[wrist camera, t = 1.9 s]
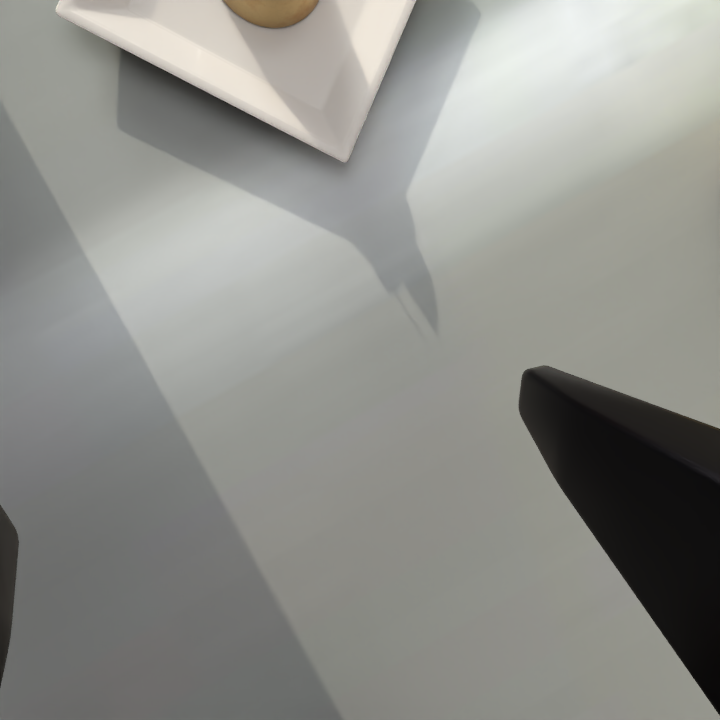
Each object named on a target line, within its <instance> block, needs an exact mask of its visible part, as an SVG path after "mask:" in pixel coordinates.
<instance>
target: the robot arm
mask: <svg viewBox="0 0 720 720" xmlns="http://www.w3.org/2000/svg"><path fill="white" fill-rule="evenodd" d="M519 412H520V415H521V417H522V419H523V421H524V423H525V425H526V427H527V429H528V430H529V432H530V434H531V436H532V438H533V440H534V441H535V443H536V445H537V447H538V449H539V451H540V452H541V454H542V456H543V458H544V460H545V462H546V463H547V465H548V467H549V469H550V471H551V473H552V474H553V476H554V478H555V479H556V481H557V483H558V484H559V486H560V487H561V489H562V490H563V492H564V493H565V495H566V496H567V498H568V499H569V500H570V502H571V503H572V505H573V506H574V508H575V509H576V510H577V512H578V513H579V515H580V516H581V518H582V519H583V521H584V522H585V523H586V525H587V526H588V528H589V529H590V531H591V532H592V533H593V535H594V536H595V538H596V539H597V541H598V542H599V543H600V545H601V546H602V548H603V549H604V551H605V552H606V553H607V555H608V556H609V558H610V559H611V561H612V562H613V563H614V565H615V566H616V568H617V569H618V571H619V572H620V573H621V575H622V576H623V578H624V579H625V581H626V582H627V583H628V585H629V586H630V588H631V589H632V591H633V592H634V594H635V595H636V596H637V598H638V599H639V601H640V602H641V604H642V605H643V606H644V608H645V609H646V611H647V612H648V614H649V615H650V616H651V618H652V619H653V621H654V622H655V624H656V625H657V626H658V628H659V629H660V631H661V632H662V634H663V635H664V636H665V638H666V639H667V641H668V642H669V644H670V645H671V646H672V648H673V649H674V651H675V652H676V654H677V655H678V656H679V658H680V659H681V661H682V662H683V664H684V665H685V667H686V668H687V669H688V671H689V672H690V674H691V675H692V677H693V678H694V679H695V681H696V682H697V684H698V685H699V687H700V688H701V689H702V691H703V692H704V694H705V695H706V697H707V698H708V699H709V701H710V702H711V704H712V705H713V707H714V708H715V709H716V711H717V712H718V714H719V715H720V429H719V428H716V427H713V426H710V425H708V424H705V423H702V422H700V421H697V420H694V419H691V418H689V417H686V416H683V415H680V414H678V413H675V412H672V411H669V410H667V409H664V408H661V407H658V406H656V405H653V404H650V403H648V402H645V401H642V400H639V399H637V398H634V397H631V396H628V395H626V394H623V393H620V392H617V391H615V390H612V389H609V388H607V387H604V386H601V385H598V384H596V383H593V382H590V381H587V380H585V379H582V378H579V377H576V376H574V375H571V374H568V373H565V372H563V371H560V370H557V369H555V368H552V367H549V366H539V367H535V368H530V369H527V370H525V371H524V373H523V375H522V380H521V388H520V397H519ZM18 546H19V541H18V534H17V531H16V529H15V527H14V525H13V524H12V522H11V521H10V519H9V518H8V516H7V514H6V513H5V511H4V510H3V508H2V506H1V505H0V686H1V682H2V677H3V672H4V667H5V662H6V658H7V653H8V647H9V642H10V635H11V627H12V617H13V605H14V593H15V582H16V570H17V558H18Z"/></svg>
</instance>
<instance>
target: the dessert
mask: <svg viewBox="0 0 720 720" xmlns="http://www.w3.org/2000/svg"><path fill="white" fill-rule="evenodd" d="M415 2H416V0H60V1H59V3H58V5H57V7H56V13H57V15H58V16H60V17H62V18H64V19H66V20H68V21H70V22H72V23H74V24H76V25H77V26H79V27H81V28H83V29H85V30H87V31H89V32H91V33H93V34H95V35H97V36H99V37H101V38H103V39H105V40H107V41H109V42H110V43H112V44H114V45H116V46H118V47H120V48H122V49H124V50H126V51H128V52H130V53H132V54H134V55H136V56H138V57H140V58H142V59H143V60H145V61H147V62H149V63H151V64H153V65H155V66H157V67H159V68H161V69H163V70H165V71H167V72H169V73H171V74H173V75H174V76H176V77H178V78H180V79H182V80H184V81H186V82H188V83H190V84H192V85H194V86H196V87H198V88H200V89H202V90H204V91H206V92H207V93H209V94H211V95H213V96H215V97H217V98H219V99H221V100H223V101H225V102H227V103H229V104H231V105H233V106H235V107H237V108H239V109H240V110H242V111H244V112H246V113H248V114H250V115H252V116H254V117H256V118H258V119H260V120H262V121H264V122H266V123H268V124H270V125H272V126H273V127H275V128H277V129H279V130H281V131H283V132H285V133H287V134H289V135H291V136H293V137H295V138H297V139H299V140H301V141H303V142H305V143H306V144H308V145H310V146H312V147H314V148H316V149H318V150H320V151H322V152H324V153H326V154H328V155H330V156H332V157H334V158H336V159H338V160H339V161H341V162H347V161H348V159H349V157H350V155H351V152H352V150H353V148H354V145H355V143H356V141H357V138H358V136H359V134H360V131H361V129H362V127H363V124H364V122H365V120H366V117H367V115H368V112H369V110H370V108H371V105H372V103H373V101H374V98H375V96H376V94H377V91H378V89H379V87H380V84H381V82H382V80H383V77H384V75H385V73H386V70H387V68H388V66H389V63H390V61H391V58H392V56H393V54H394V51H395V49H396V47H397V44H398V42H399V40H400V37H401V35H402V33H403V30H404V28H405V26H406V23H407V21H408V19H409V16H410V14H411V12H412V9H413V7H414V5H415Z"/></svg>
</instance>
